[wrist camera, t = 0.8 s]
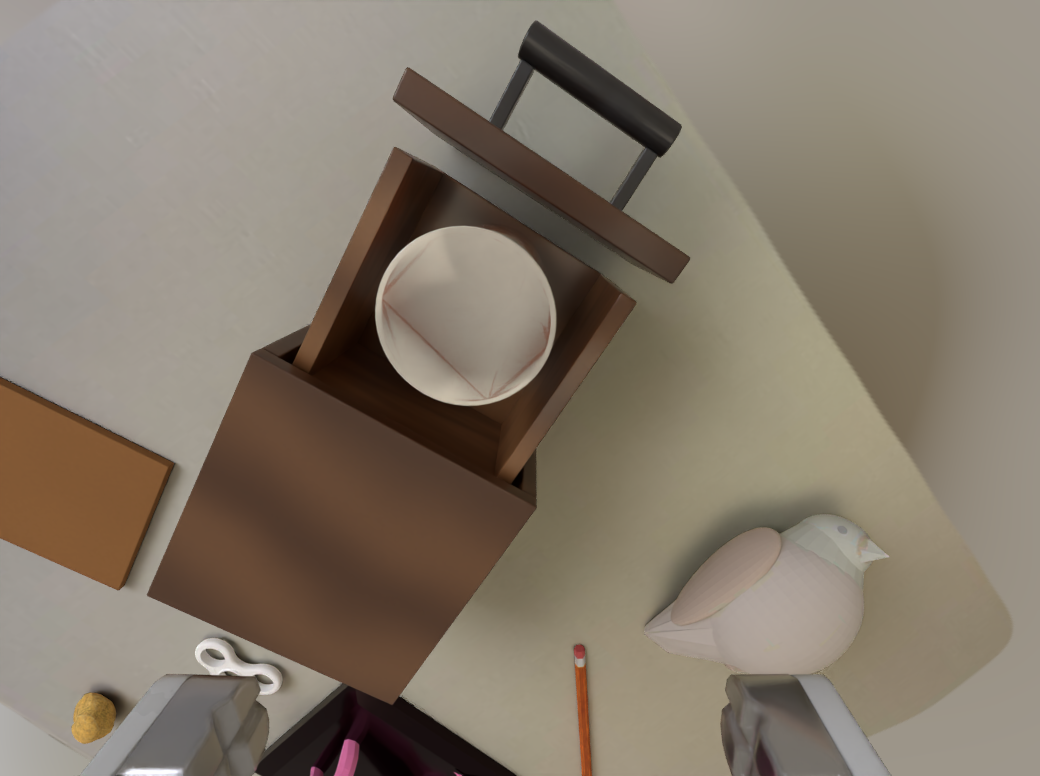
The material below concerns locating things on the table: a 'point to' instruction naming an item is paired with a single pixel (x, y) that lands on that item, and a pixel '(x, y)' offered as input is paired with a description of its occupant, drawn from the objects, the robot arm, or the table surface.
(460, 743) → the dark display base
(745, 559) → the decorative bird
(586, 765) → the pencil
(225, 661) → the fidget spinner
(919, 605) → the table surface
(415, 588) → the cabinet
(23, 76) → the table surface
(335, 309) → the drawer
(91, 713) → the rock
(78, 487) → the mat
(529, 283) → the tumbler
